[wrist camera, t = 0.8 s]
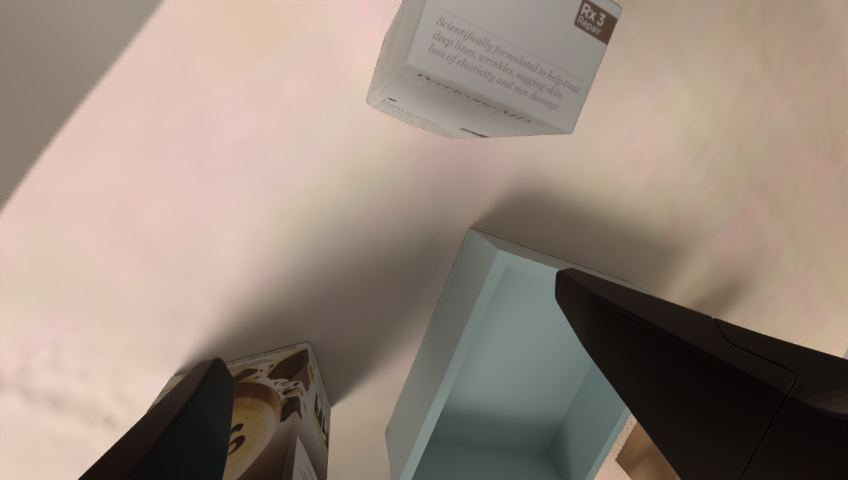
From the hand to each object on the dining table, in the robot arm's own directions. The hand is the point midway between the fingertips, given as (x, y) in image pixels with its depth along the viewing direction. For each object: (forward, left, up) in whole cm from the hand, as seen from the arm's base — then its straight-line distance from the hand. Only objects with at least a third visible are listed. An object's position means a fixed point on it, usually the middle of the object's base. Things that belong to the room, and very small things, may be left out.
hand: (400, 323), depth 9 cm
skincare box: (+8, -1, -15) cm, 17 cm away
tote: (-8, -15, -14) cm, 22 cm away
